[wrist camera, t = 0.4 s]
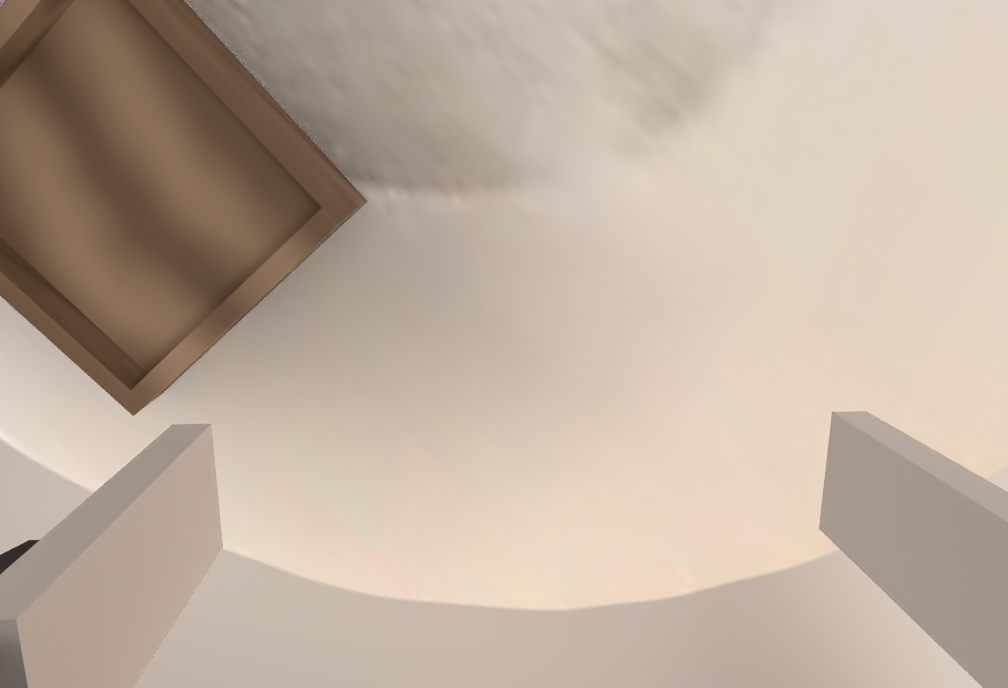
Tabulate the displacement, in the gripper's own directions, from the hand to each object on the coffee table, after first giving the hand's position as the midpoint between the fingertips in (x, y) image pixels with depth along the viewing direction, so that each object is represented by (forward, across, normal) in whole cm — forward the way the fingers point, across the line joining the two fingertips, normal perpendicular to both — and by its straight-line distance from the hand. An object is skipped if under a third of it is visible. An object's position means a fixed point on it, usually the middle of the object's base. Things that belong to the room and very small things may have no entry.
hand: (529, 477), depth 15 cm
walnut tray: (+24, -17, +6) cm, 30 cm away
